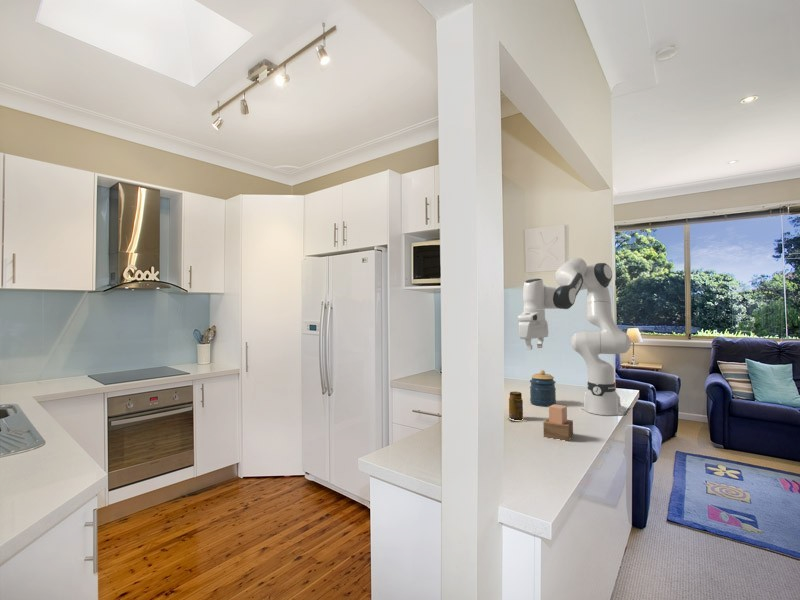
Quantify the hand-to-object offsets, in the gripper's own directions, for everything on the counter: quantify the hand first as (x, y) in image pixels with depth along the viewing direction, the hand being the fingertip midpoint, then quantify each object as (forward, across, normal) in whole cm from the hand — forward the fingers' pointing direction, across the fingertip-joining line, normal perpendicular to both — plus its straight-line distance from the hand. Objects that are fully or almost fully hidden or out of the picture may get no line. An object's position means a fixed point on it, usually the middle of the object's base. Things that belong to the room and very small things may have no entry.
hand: (534, 348), depth 167 cm
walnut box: (+33, +6, +12) cm, 36 cm away
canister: (+33, -41, -16) cm, 55 cm away
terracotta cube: (+27, +6, +12) cm, 31 cm away
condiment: (+33, -5, -12) cm, 36 cm away
